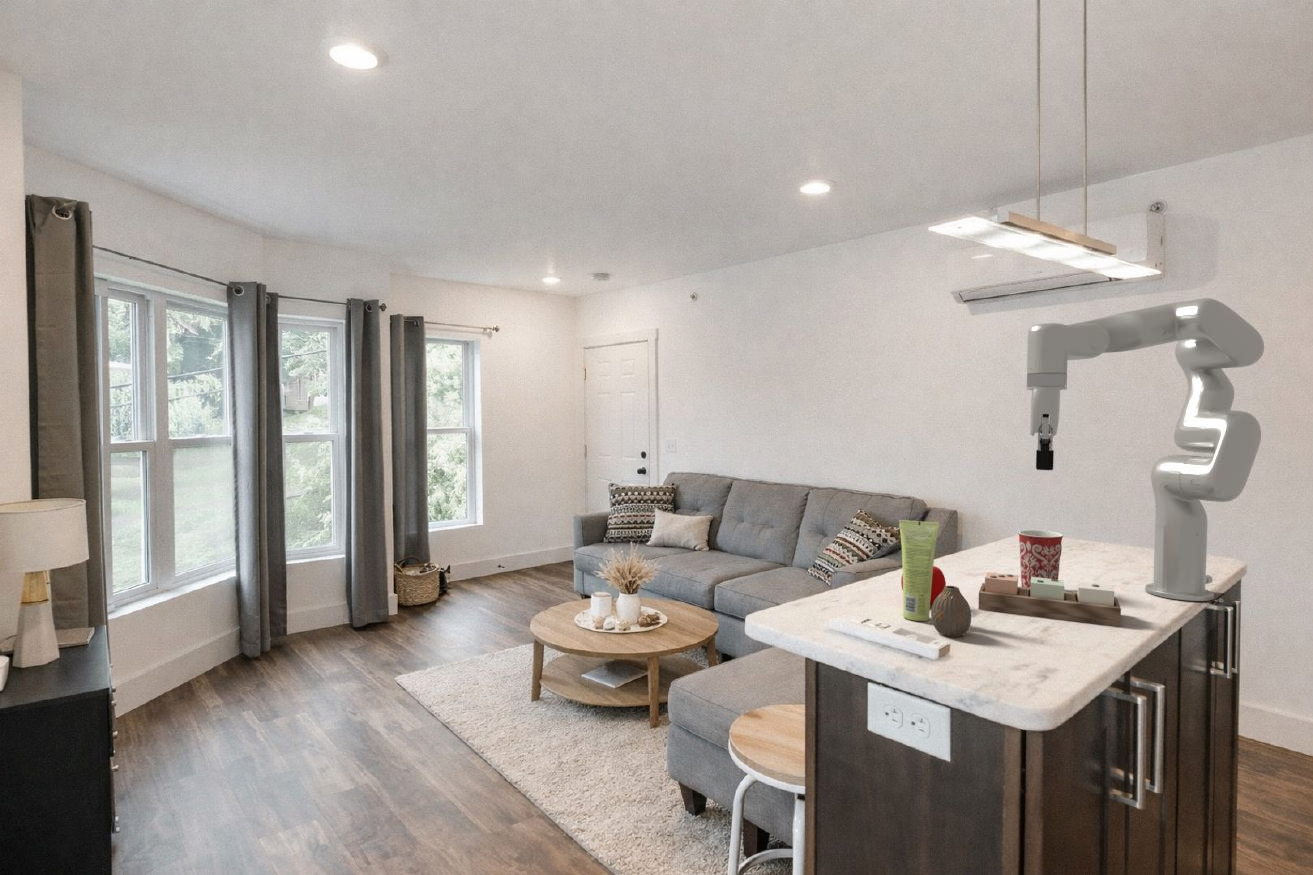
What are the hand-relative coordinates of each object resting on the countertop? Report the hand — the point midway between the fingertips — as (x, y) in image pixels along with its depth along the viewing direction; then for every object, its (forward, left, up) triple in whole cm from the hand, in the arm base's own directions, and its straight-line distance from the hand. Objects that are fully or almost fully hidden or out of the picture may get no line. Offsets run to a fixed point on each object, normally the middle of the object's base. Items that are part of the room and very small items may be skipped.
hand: (1044, 468), depth 153 cm
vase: (+34, +6, -29) cm, 45 cm away
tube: (+32, -4, -29) cm, 44 cm away
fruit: (+22, -12, -29) cm, 39 cm away
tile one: (-1, +11, -26) cm, 28 cm away
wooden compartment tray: (+4, +4, -29) cm, 30 cm away
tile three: (+9, -3, -26) cm, 28 cm away
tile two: (+4, +4, -26) cm, 27 cm away
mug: (-12, -8, -29) cm, 33 cm away
